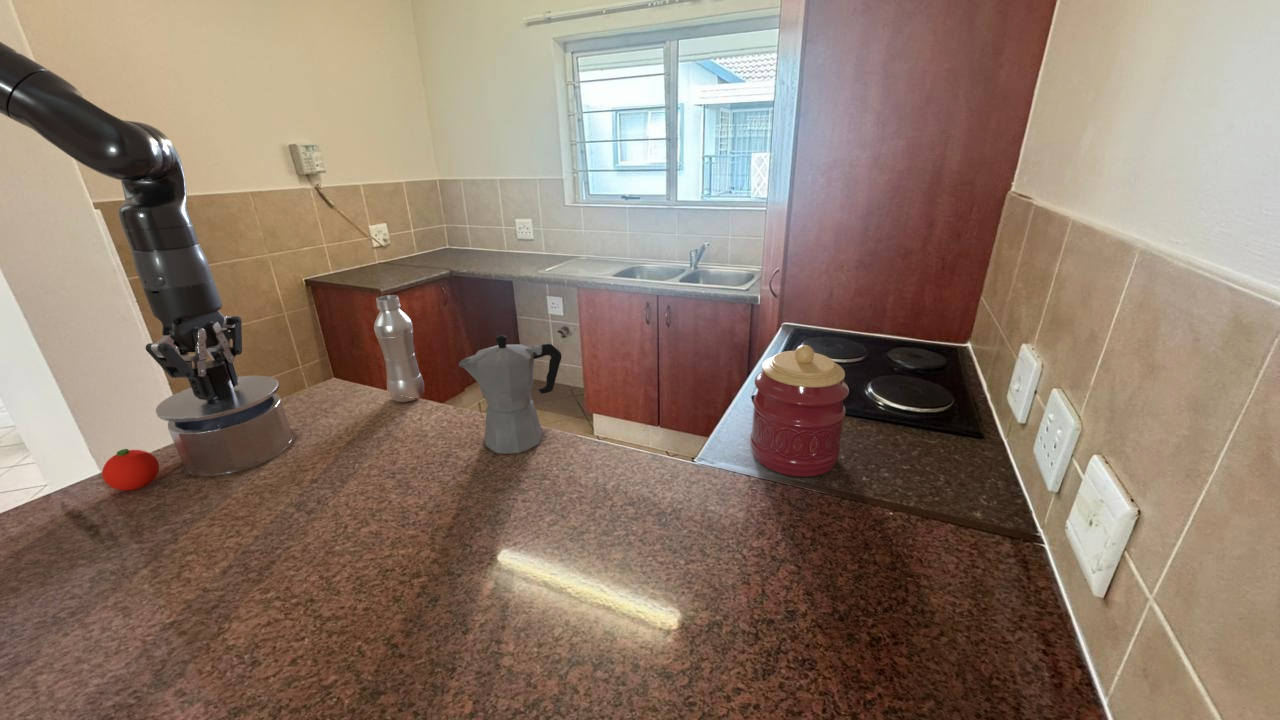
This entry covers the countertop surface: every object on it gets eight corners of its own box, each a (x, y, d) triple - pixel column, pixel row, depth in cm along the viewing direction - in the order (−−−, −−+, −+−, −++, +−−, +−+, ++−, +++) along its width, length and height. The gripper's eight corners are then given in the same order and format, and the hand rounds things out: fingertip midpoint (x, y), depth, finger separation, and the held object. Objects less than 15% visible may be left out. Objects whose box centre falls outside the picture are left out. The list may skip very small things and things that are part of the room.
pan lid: (129, 425, 70) (111, 385, 67) (215, 381, 83) (202, 346, 81) (231, 426, 69) (216, 385, 67) (301, 382, 83) (290, 347, 80)
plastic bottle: (415, 388, 101) (395, 291, 93) (433, 397, 97) (414, 296, 89) (383, 399, 96) (359, 298, 88) (400, 409, 92) (377, 304, 84)
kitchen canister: (845, 483, 69) (865, 366, 63) (750, 474, 72) (759, 360, 65) (830, 435, 81) (845, 332, 75) (748, 429, 83) (756, 329, 77)
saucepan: (161, 477, 73) (141, 432, 71) (234, 430, 86) (219, 390, 83) (251, 478, 73) (234, 433, 70) (311, 430, 85) (299, 391, 83)
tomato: (100, 498, 69) (81, 462, 67) (139, 474, 74) (123, 440, 72) (139, 499, 69) (121, 462, 66) (175, 475, 74) (160, 440, 72)
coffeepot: (475, 464, 75) (456, 352, 68) (469, 434, 83) (452, 332, 76) (574, 442, 80) (566, 337, 74) (560, 416, 89) (552, 319, 82)
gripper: (196, 269, 76) (232, 373, 82) (99, 293, 63) (151, 414, 69) (244, 269, 75) (276, 373, 82) (156, 293, 62) (203, 415, 69)
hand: (218, 391), depth 75 cm, fingers closed on pan lid, 3 cm apart
